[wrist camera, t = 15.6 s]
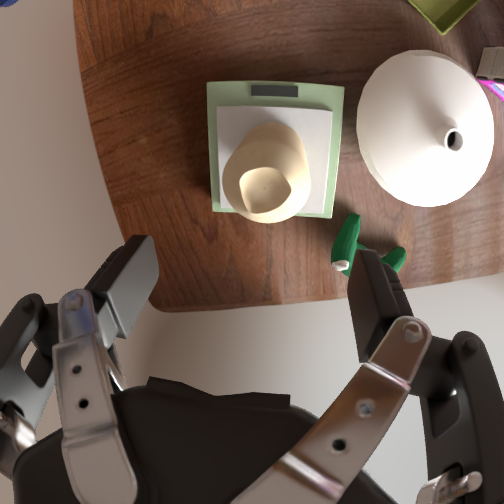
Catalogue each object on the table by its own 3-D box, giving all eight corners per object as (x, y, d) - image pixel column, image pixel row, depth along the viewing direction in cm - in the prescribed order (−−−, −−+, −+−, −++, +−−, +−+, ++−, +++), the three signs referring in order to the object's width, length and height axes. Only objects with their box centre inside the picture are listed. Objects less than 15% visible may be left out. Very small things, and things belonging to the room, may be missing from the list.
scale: (217, 202, 32) (210, 214, 29) (212, 81, 24) (204, 82, 22) (328, 208, 30) (332, 221, 28) (339, 86, 23) (345, 87, 21)
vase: (385, 22, 19) (413, 9, 13) (496, 108, 20) (535, 122, 14) (323, 154, 27) (333, 177, 21) (438, 217, 29) (464, 250, 23)
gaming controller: (336, 215, 33) (317, 262, 31) (355, 208, 29) (335, 259, 28) (390, 253, 34) (375, 296, 33) (411, 250, 31) (396, 297, 30)
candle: (278, 191, 27) (272, 249, 19) (230, 156, 26) (199, 200, 17) (316, 147, 24) (332, 186, 16) (266, 108, 23) (253, 126, 15)
